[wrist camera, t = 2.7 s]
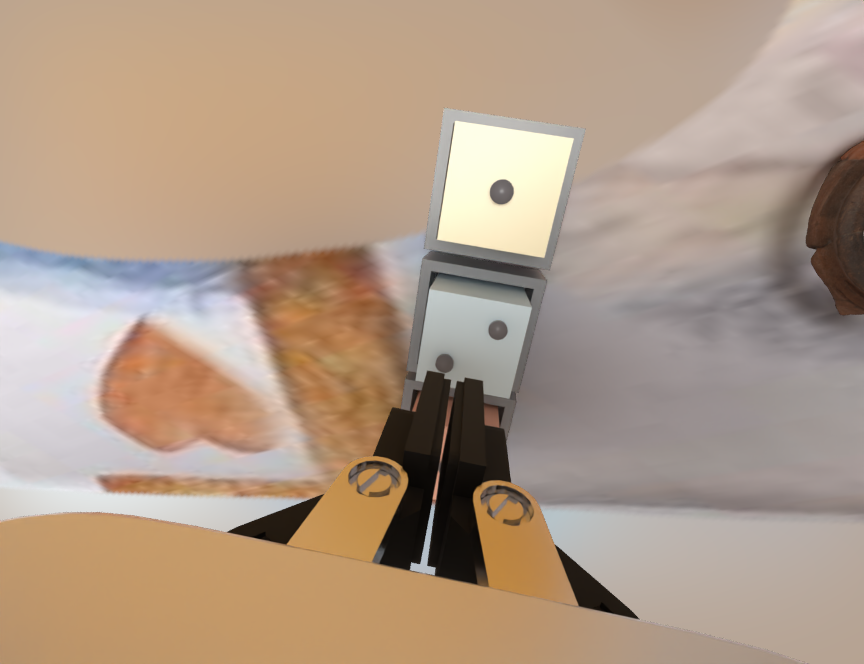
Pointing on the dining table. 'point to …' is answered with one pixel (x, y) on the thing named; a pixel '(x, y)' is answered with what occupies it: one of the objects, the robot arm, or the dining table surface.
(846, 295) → the pottery mug
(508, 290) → the button two
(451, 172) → the button one
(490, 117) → the tile one base
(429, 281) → the tile two base
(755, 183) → the dining table surface
